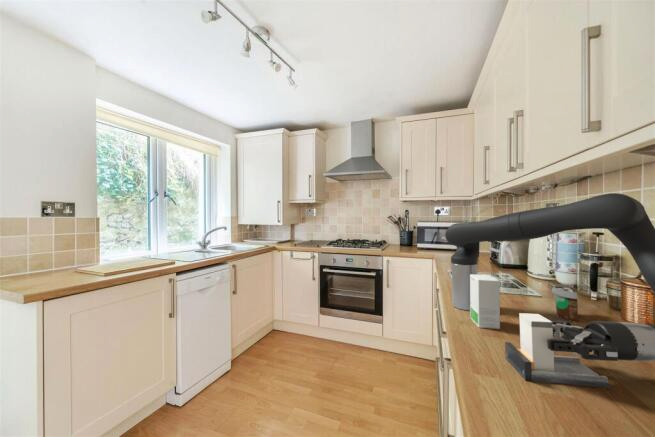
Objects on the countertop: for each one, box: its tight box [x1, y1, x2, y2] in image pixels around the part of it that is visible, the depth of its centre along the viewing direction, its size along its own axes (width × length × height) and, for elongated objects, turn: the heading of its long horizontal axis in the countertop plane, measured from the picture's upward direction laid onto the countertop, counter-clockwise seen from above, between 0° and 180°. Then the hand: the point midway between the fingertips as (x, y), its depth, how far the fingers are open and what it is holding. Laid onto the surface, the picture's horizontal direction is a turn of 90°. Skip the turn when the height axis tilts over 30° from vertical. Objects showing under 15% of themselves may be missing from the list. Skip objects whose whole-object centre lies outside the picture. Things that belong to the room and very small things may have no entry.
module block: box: [518, 312, 555, 372], centre depth 58 cm, size 5×4×11 cm
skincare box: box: [469, 274, 501, 330], centre depth 85 cm, size 8×7×16 cm
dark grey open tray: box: [504, 341, 611, 389], centre depth 58 cm, size 9×15×4 cm, turn 78°
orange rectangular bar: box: [517, 348, 534, 370], centre depth 59 cm, size 6×1×2 cm, turn 168°
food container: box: [551, 284, 579, 323], centre depth 90 cm, size 12×6×10 cm, turn 141°
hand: (536, 335), depth 58 cm, fingers open, 8 cm apart
